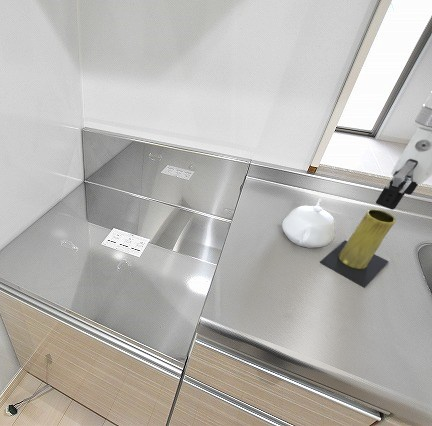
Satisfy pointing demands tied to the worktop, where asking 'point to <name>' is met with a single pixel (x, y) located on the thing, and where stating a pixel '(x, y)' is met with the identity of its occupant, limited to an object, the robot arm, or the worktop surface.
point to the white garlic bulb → (310, 226)
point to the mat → (351, 273)
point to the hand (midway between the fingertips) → (393, 198)
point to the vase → (366, 238)
